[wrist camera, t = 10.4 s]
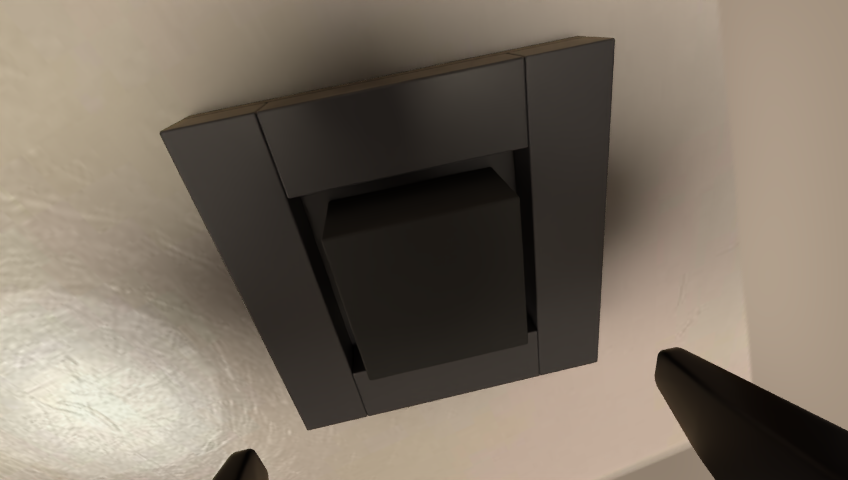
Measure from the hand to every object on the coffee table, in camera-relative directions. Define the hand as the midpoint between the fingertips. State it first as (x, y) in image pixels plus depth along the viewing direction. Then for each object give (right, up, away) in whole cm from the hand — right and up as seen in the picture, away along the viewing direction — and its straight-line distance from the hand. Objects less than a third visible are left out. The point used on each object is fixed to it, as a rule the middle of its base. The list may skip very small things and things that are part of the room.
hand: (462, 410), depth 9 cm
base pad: (-1, +4, +7) cm, 8 cm away
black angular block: (-1, +3, +6) cm, 7 cm away
